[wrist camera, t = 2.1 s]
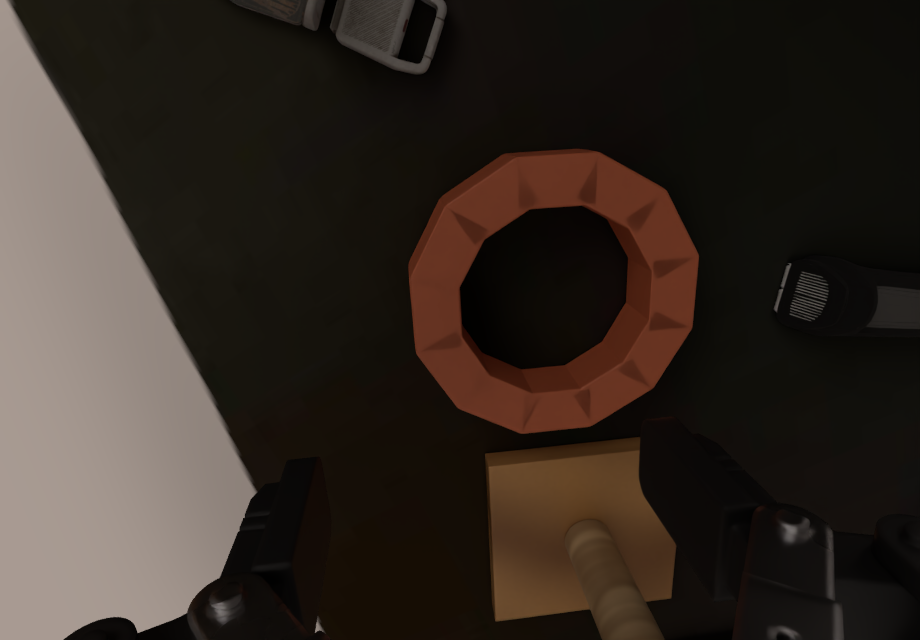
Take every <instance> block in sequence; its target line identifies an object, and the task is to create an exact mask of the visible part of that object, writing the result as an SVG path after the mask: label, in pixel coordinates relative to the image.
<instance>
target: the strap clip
mask: <svg viewBox="0 0 920 640" xmlns="http://www.w3.org/2000/svg"><path fill="white" fill-rule="evenodd" d="M230 1H231V2H233V3H235V4H236V5H238V6H241V7H244V8H247V9H250V10H253V11H256V12H259V13H262V14H265V15H268V16H271V17H274V18H276V19H279V20H282V21H285V22H288V23H291V24H294V25H301V24H302V25H303V26H304V27H306V28H309V29H311V30H313V31H316V30H317V29H318V26H319V22H320V19H321V15H322V11H323V7H324V3H325V0H230ZM421 1H423V2H425V3H426V4H428V5H430V6H432V7H433V8H435V9H436V12H437V14H436V19H435V22H434V25H433V29H432V32H431V35H430V38H429V41H428V44H427V47H426V50H425V54H424V57H423V59H422V61H421V63H419V64H415V63H411V62H408V61H404V60H401V59H397V58H398V55H399V51H400V48H401V45H402V42H403V38H404V35H405V32H406V28H407V25H408V22H409V19H410V15H411V12H412V9H413V6H414V2H415V0H337V3H336V7H335V11H334V14H333V18H332V22H331V25H330V28H331V29H332V31H333V33H334V34H335V33H336V37H337V40H338V41H339V42H340V43H341V44H342V45H344V46H346V47H348V48H350V49H352V50H354V51H356V52H358V53H361V54H363V55H365V56H367V57H369V58H371V59H373V60H375V61H377V62H379V63H381V64H383V65H385V66H387V67H389V68H392V69H394V70H398V71H402V72H406V73H411V74H415V75H417V74H423V73H425V72H426V71H427V69H428V68H429V65H430V62H431V60H432V59H433V56H434V53H435V50H436V47H437V44H438V41H439V38H440V35H441V31H442V28H443V25H444V19H445V16H446V13H447V6H446V4H445V2H444V1H443V0H421Z"/></svg>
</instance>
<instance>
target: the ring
mask: <svg viewBox="0 0 920 640" xmlns="http://www.w3.org/2000/svg"><path fill="white" fill-rule="evenodd" d="M568 206H583V207H585V208H587V209H589V210H591V211H593V212H595V213H596V214H598V215H600V216H602V217H604V218H606V219H607V220H608V222H609V224H610V226H611V228H612V229H613V231H614V233H615V235H616V237H617V238H618V240H619V242H620V244H621V246H622V248H623V249H624V251H625V253H626V255H627V257H628V271H627V291H626V303H625V305H624V306H623V308H622V310H621V311H620V313H619V315H618V316H617V318H616V320H615V321H614V323H613V324H612V326H611V328H610V329H609V331H608V333H607V334H606V336H605V338H604V339H603V341H602V342H601V343H599V344H598V345H596V346H594V347H593V348H591V349H590V350H588V351H587V352H585V353H583V354H582V355H580V356H579V357H577V358H575V359H574V360H572V361H571V362H569V363H568V364H566V365H562V366H552V367H541V368H531V369H519V368H517V367H514V366H512V365H510V364H507V363H505V362H503V361H500V360H498V359H496V358H493V357H491V356H489V355H486V354H484V353H482V352H481V351H480V349H479V348H478V346H477V345H476V344H475V342H474V341H473V339H472V338H471V337H470V335H469V334H468V332H467V331H466V330H465V328H464V327H463V325H462V317H461V300H460V286H461V284H462V282H463V280H464V278H465V277H466V275H467V273H468V271H469V269H470V267H471V265H472V263H473V261H474V259H475V257H476V255H477V253H478V251H479V249H480V247H481V245H482V243H483V241H484V240H485V239H486V238H488V237H489V236H491V235H492V234H494V233H495V232H497V231H498V230H500V229H501V228H503V227H504V226H506V225H507V224H509V223H510V222H512V221H513V220H515V219H516V218H518V217H519V216H521V215H522V214H524V213H525V212H527V211H528V210H530V209H541V208H554V207H568ZM698 261H699V255H698V253H697V251H696V249H695V246H694V244H693V242H692V240H691V238H690V236H689V234H688V232H687V230H686V228H685V226H684V224H683V222H682V220H681V218H680V216H679V214H678V212H677V210H676V208H675V206H674V204H673V202H672V200H671V198H670V196H669V194H668V192H667V190H665V189H664V188H663V187H661V186H659V185H657V184H656V183H654V182H652V181H650V180H649V179H647V178H645V177H643V176H641V175H640V174H638V173H636V172H634V171H632V170H631V169H629V168H627V167H625V166H624V165H622V164H620V163H618V162H616V161H615V160H613V159H611V158H609V157H608V156H606V155H604V154H602V153H600V152H597V151H590V150H583V149H565V150H550V151H534V152H519V153H505V154H503V155H501V156H500V157H498V158H497V159H495V160H494V161H492V162H491V163H489V164H488V165H486V166H485V167H484V168H482V169H481V170H479V171H478V172H476V173H475V174H473V175H472V176H470V177H469V178H468V179H466V180H465V181H463V182H462V183H460V184H459V185H457V186H456V187H454V188H453V189H452V190H450V191H449V192H447V193H446V194H444V195H443V196H442V197H441V198H440V199H439V201H438V203H437V205H436V207H435V209H434V211H433V213H432V215H431V217H430V219H429V222H428V224H427V226H426V228H425V230H424V232H423V234H422V236H421V238H420V240H419V242H418V244H417V247H416V249H415V251H414V253H413V255H412V257H411V259H410V261H409V266H408V270H409V284H410V295H411V306H412V317H413V328H414V339H415V350H416V354H417V355H418V357H419V358H420V359H421V361H422V362H423V363H424V365H425V366H426V367H427V369H428V370H429V371H430V372H431V374H432V375H433V376H434V378H435V379H436V380H437V382H438V383H439V384H440V386H441V387H442V388H443V389H444V391H445V392H446V393H447V395H448V396H449V397H450V399H451V400H452V401H453V403H454V404H455V405H456V407H457V408H459V409H461V410H463V411H466V412H468V413H471V414H473V415H476V416H478V417H481V418H483V419H486V420H488V421H491V422H493V423H496V424H498V425H501V426H503V427H506V428H508V429H511V430H513V431H516V432H518V433H522V434H525V433H534V432H544V431H553V430H563V429H572V428H582V427H590V426H592V425H594V424H596V423H597V422H599V421H601V420H602V419H604V418H606V417H607V416H609V415H610V414H612V413H614V412H615V411H617V410H619V409H620V408H622V407H623V406H625V405H627V404H628V403H630V402H632V401H633V400H635V399H636V398H638V397H640V396H641V395H643V394H645V393H646V392H648V391H649V390H651V388H652V389H653V388H654V386H655V385H656V383H657V382H658V380H659V378H660V377H661V375H662V374H663V372H664V371H665V369H666V368H667V366H668V365H669V363H670V362H671V360H672V358H673V357H674V355H675V354H676V352H677V351H678V349H679V348H680V346H681V345H682V343H683V342H684V340H685V338H686V337H687V335H688V334H689V332H690V331H691V329H692V326H693V315H694V305H695V294H696V283H697V272H698Z"/></svg>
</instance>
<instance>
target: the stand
mask: <svg viewBox="0 0 920 640" xmlns="http://www.w3.org/2000/svg"><path fill="white" fill-rule="evenodd" d="M639 453H640V437H634V438H625V439H616V440H607V441H597V442H588V443H579V444H570V445H560V446H551V447H542V448H533V449H523V450H514V451H505V452H496V453H486V454H485V463H486V484H487V504H488V525H489V546H490V567H491V588H492V605H493V610H494V616H495V620H496V621H503V620H510V619H518V618H526V617H533V616H541V615H548V614H556V613H563V612H571V611H578V610H586V609H590V610H591V612H592V615H593V618H594V620H595V623H596V625H597V628H598V630H599V633H600V635H601V638H602V640H665V639H664V637H663V635H662V633H661V631H660V629H659V627H658V625H657V623H656V621H655V619H654V617H653V615H652V613H651V611H650V610H649V608H648V606H647V604H646V601H654V600H661V599H669V598H671V594H672V583H673V573H674V562H675V552H676V544H675V542H674V541H673V539H672V538H671V536H670V535H669V533H668V532H667V530H666V529H665V527H664V526H663V524H662V523H661V521H660V520H659V518H658V517H657V515H656V514H655V512H654V511H653V509H652V508H651V506H650V505H649V503H648V502H647V500H646V499H645V497H644V495H643V493H642V490H641V486H640V482H639Z"/></svg>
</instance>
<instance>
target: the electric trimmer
mask: <svg viewBox="0 0 920 640" xmlns="http://www.w3.org/2000/svg"><path fill="white" fill-rule="evenodd" d="M788 264H790V263H788ZM786 268H787V269H786V270H785V271H787V272H785V273H784V274H786V275H784V276H783V277H785V278H783V279H782V280H784V281H783V282H782V285H781V287H782V288H783V289H780V291H779V292H780V293H779V294H778V295H779V297H777V298H779V299H778V300H777V301H776V302H777V303H776V304H775V305H776V306H775V307H774V308H775V309H774V310H775V311H776V312H777V313H776V316H777V319H778V321H779V322H780V323H782V324H783V325H785V326H788V327H791V328H794V329H796V330H798V331H801V332H804V333H807V334H811V335H817V336H853V337H920V273H910V272H898V271H889V270H881V269H873V268H866V267H862V266H859V265H856V264H854V263H851V262H849V261H846V260H844V259H841V258H837V257H833V256H818V255H811V256H808V257H806V258H804V259H799V260H796V261H794V262H793V263H792V264H790V265H789V266H787V267H786Z"/></svg>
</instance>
